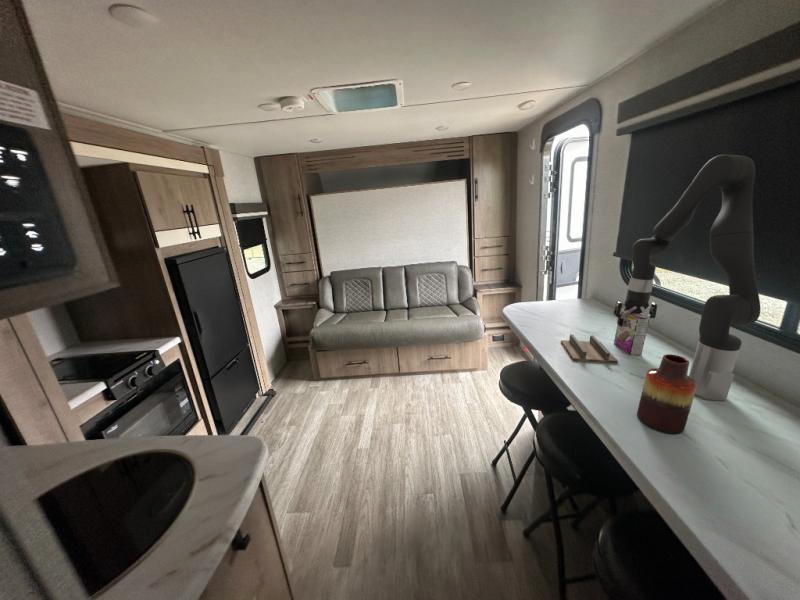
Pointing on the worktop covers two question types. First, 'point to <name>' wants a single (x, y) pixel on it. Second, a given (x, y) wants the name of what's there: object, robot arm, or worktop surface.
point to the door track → (588, 350)
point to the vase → (667, 396)
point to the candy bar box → (632, 333)
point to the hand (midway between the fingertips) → (631, 326)
